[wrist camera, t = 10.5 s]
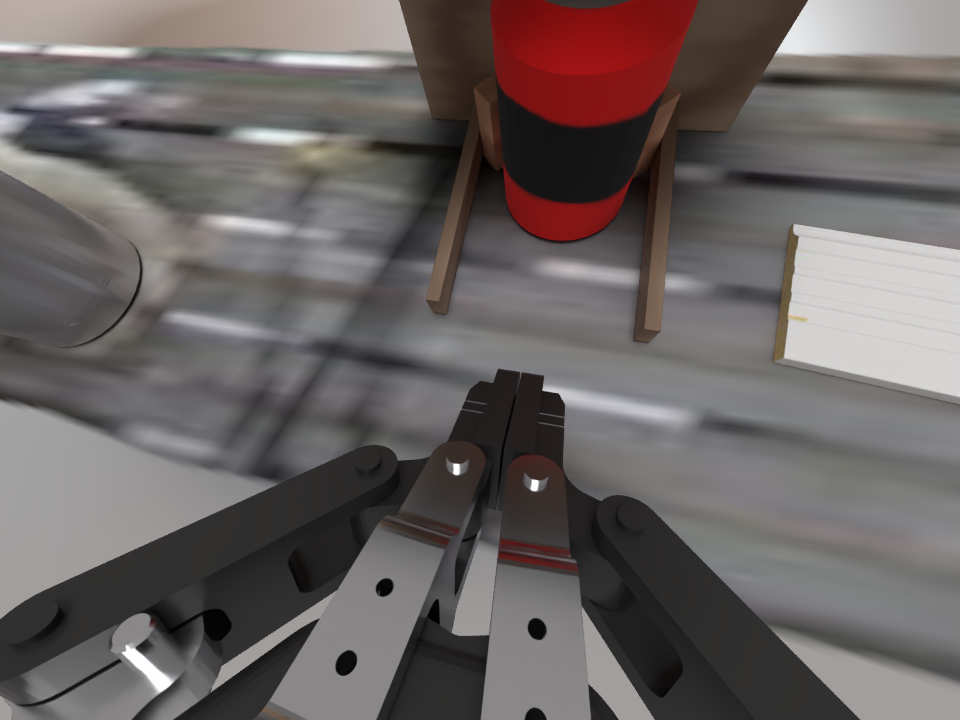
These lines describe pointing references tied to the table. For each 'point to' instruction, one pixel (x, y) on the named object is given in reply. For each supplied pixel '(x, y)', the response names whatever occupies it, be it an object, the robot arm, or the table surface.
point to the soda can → (579, 103)
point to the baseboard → (872, 311)
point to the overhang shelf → (684, 106)
